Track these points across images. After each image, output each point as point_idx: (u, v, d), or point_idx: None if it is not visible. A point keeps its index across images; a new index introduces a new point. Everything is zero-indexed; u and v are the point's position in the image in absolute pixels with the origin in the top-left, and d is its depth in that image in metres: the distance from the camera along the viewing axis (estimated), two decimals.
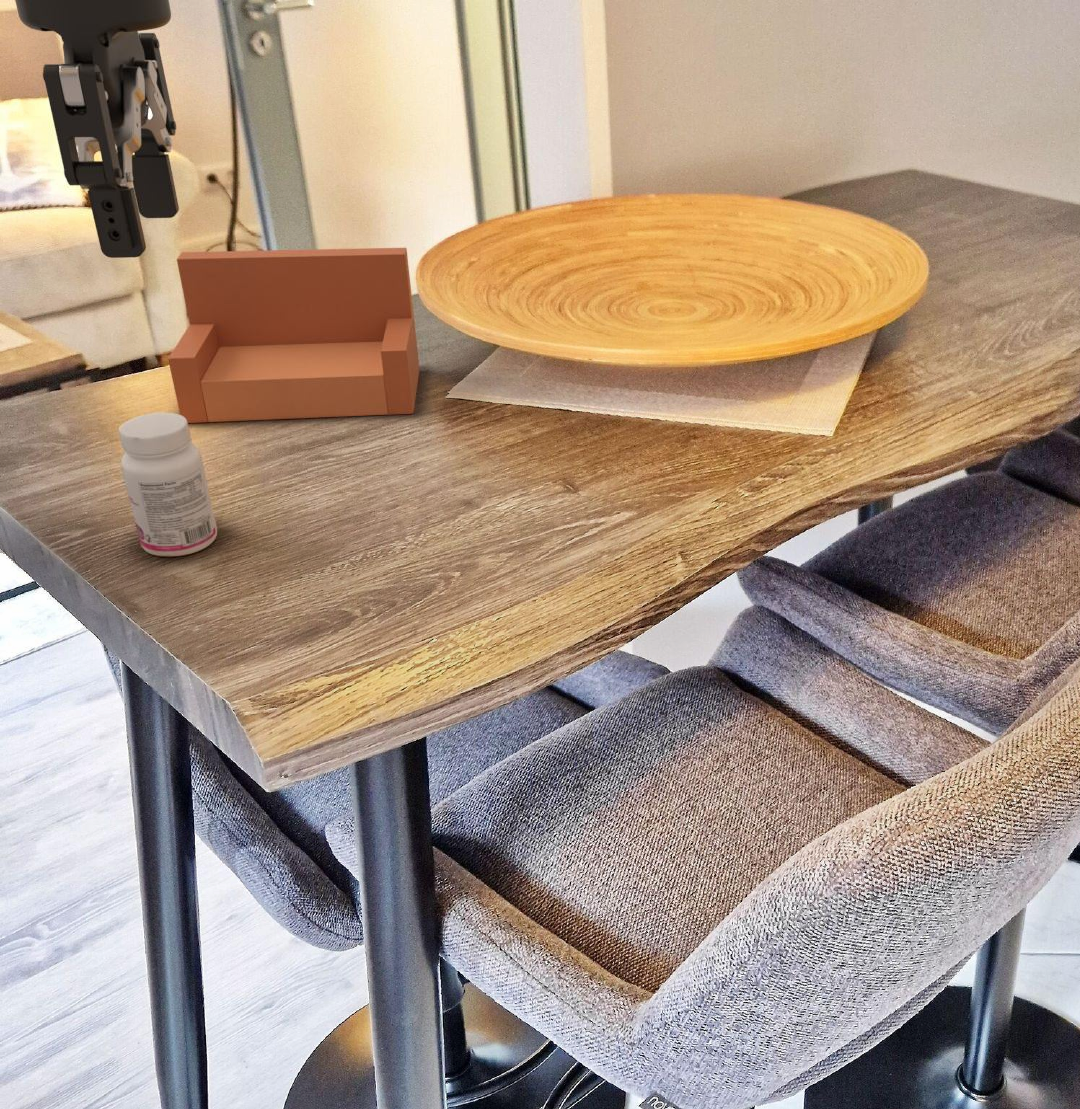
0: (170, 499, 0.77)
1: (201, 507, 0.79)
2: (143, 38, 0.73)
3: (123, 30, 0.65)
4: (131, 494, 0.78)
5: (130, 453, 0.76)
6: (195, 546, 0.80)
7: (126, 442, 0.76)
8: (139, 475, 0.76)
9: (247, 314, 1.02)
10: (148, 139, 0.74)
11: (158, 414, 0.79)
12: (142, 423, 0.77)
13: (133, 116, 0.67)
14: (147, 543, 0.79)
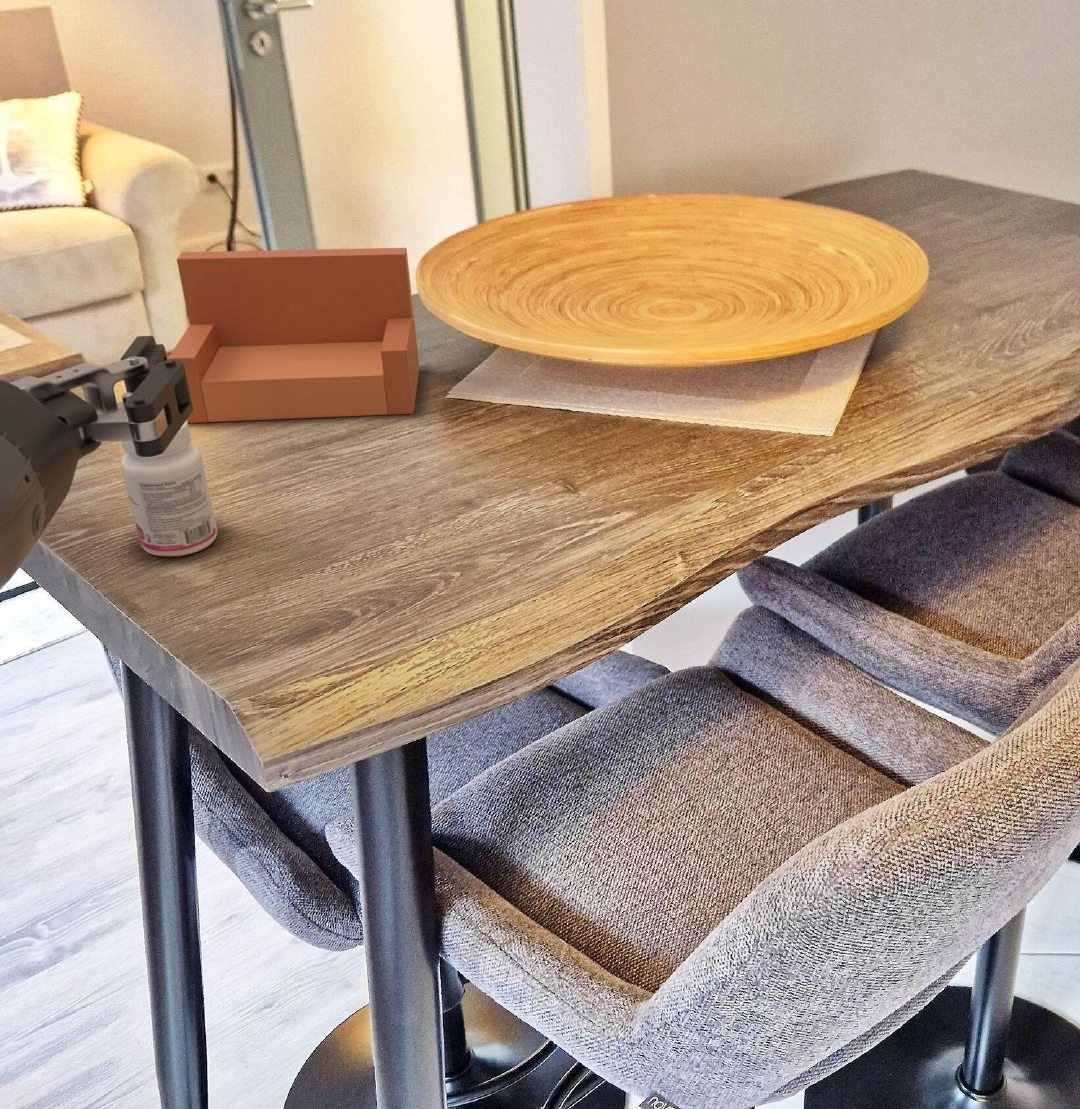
0: (170, 499, 0.77)
1: (201, 507, 0.79)
2: (135, 444, 0.55)
3: None
4: (131, 494, 0.78)
5: (130, 453, 0.76)
6: (195, 546, 0.80)
7: (126, 442, 0.76)
8: (139, 475, 0.76)
9: (247, 314, 1.02)
10: (127, 391, 0.59)
11: None
12: None
13: None
14: (147, 543, 0.79)
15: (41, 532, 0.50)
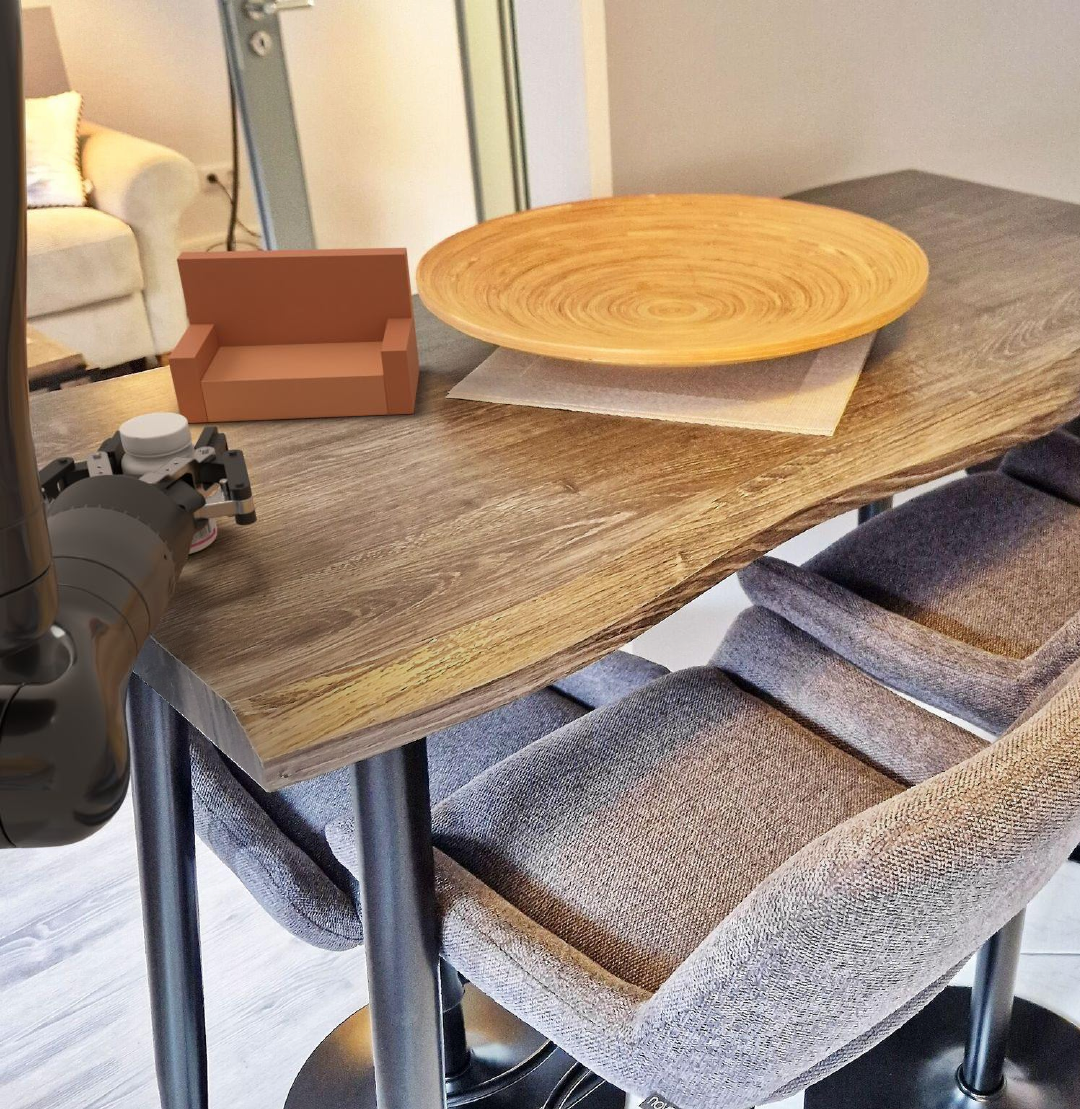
0: None
1: None
2: (237, 517, 0.73)
3: None
4: None
5: (130, 453, 0.76)
6: (195, 546, 0.80)
7: (126, 442, 0.76)
8: None
9: (247, 314, 1.02)
10: None
11: (158, 414, 0.79)
12: (143, 423, 0.77)
13: None
14: None
15: None
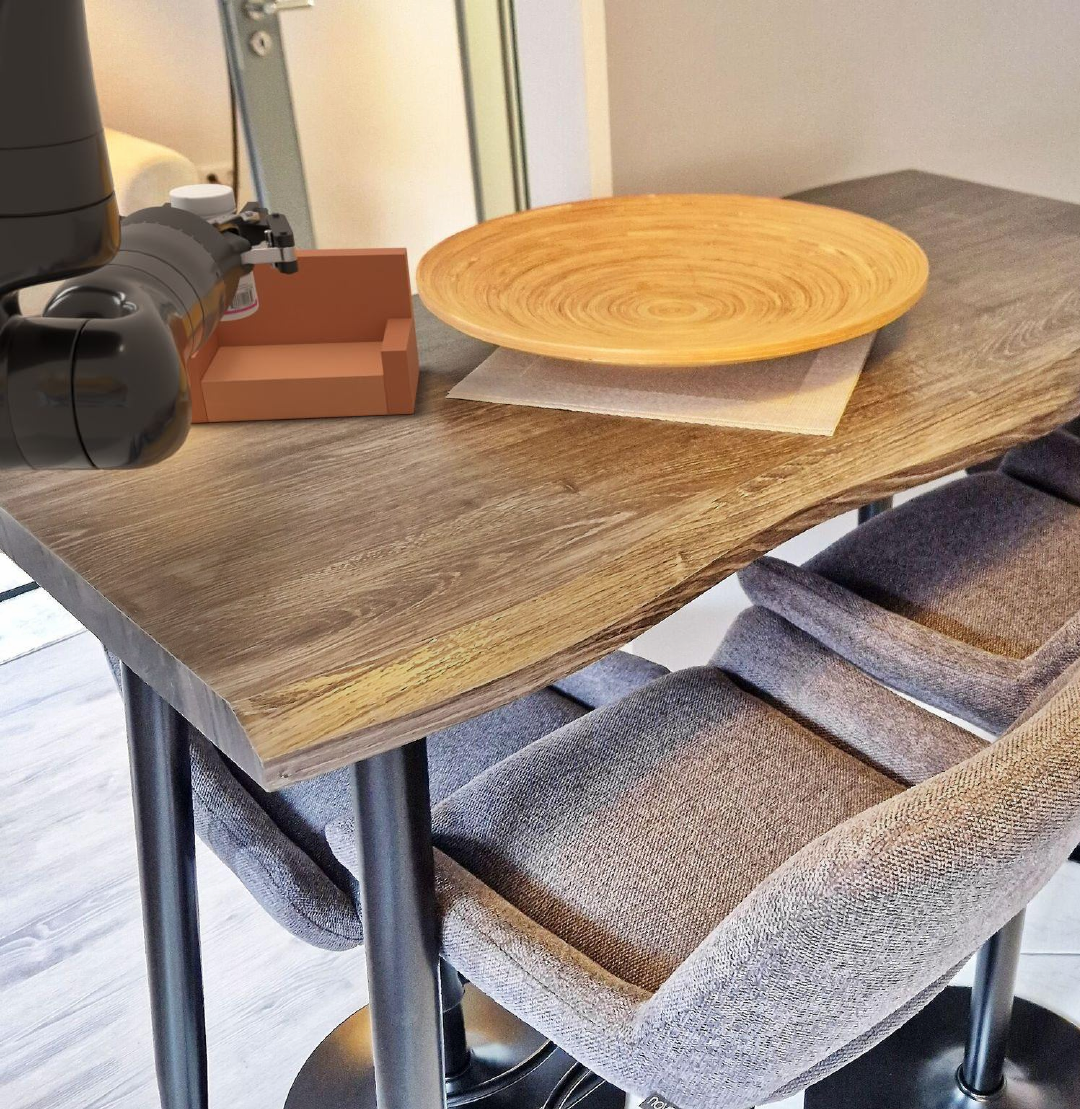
0: None
1: None
2: (281, 265, 0.78)
3: None
4: None
5: None
6: (238, 312, 0.84)
7: (176, 203, 0.81)
8: None
9: None
10: None
11: (205, 185, 0.83)
12: (191, 189, 0.82)
13: None
14: None
15: (221, 318, 0.73)
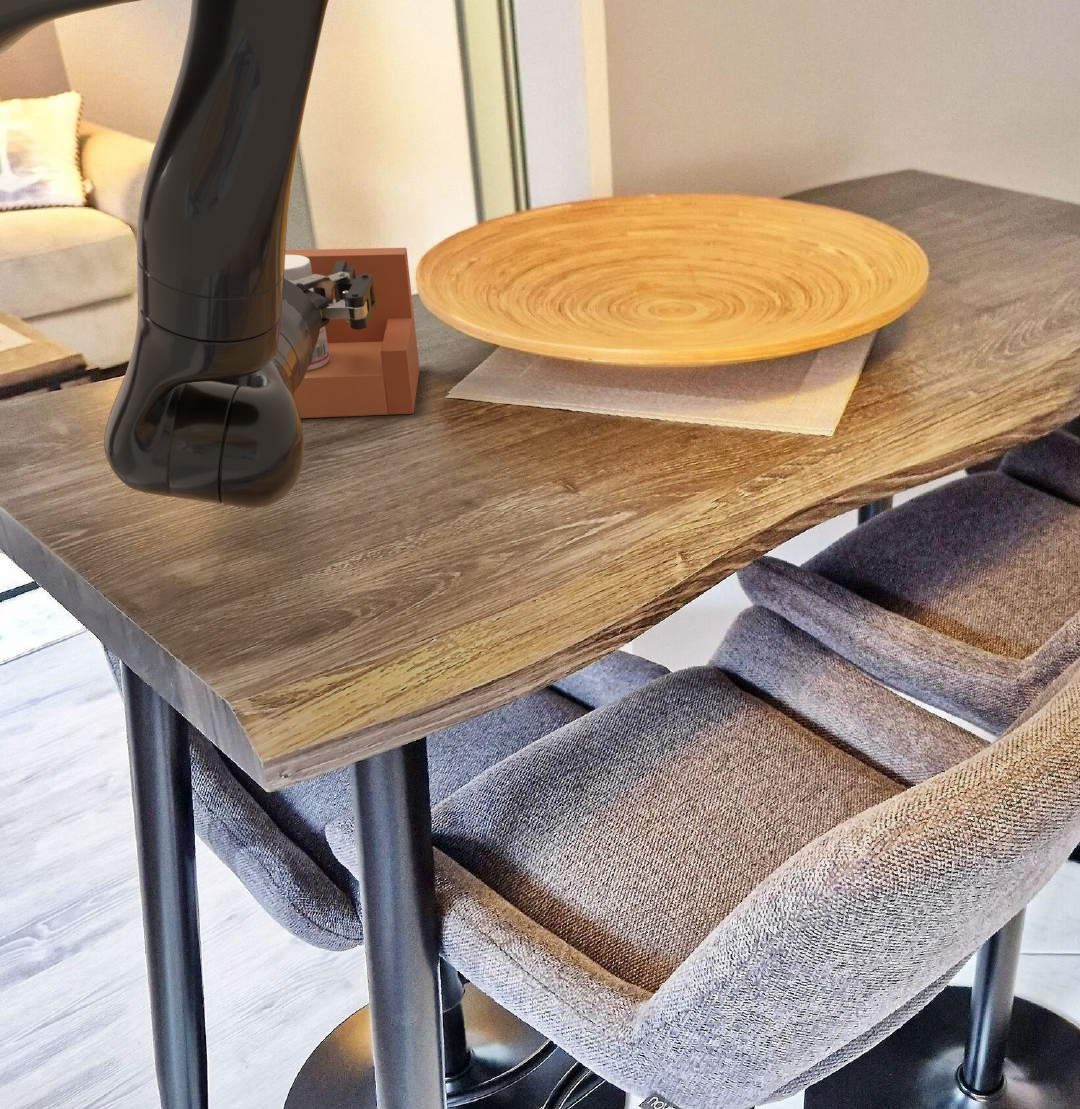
0: None
1: None
2: (351, 321, 0.91)
3: None
4: None
5: None
6: (314, 364, 0.99)
7: None
8: None
9: None
10: (336, 293, 0.96)
11: (286, 255, 0.98)
12: None
13: None
14: None
15: None
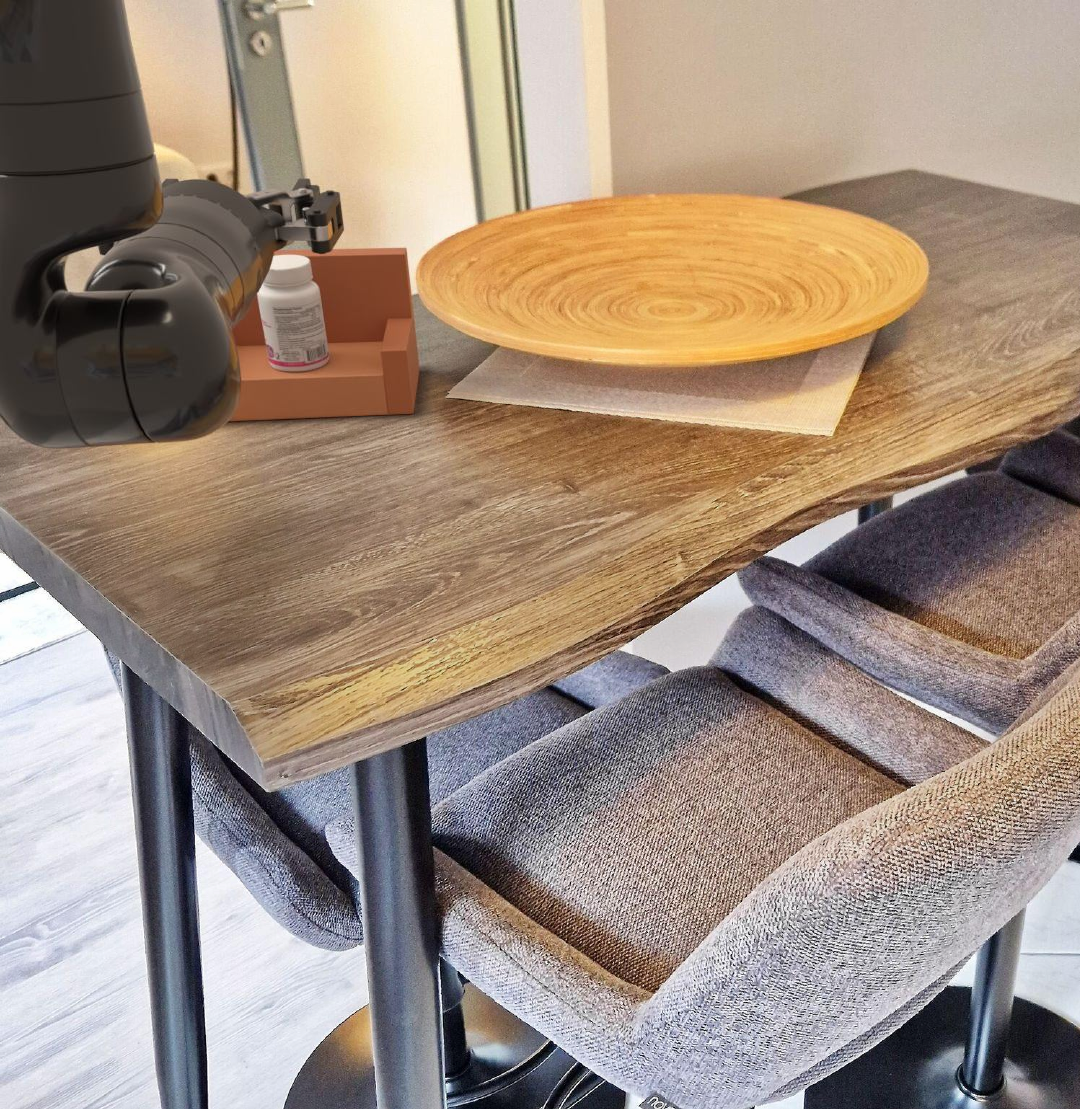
0: (297, 322, 0.97)
1: (319, 331, 0.98)
2: (312, 244, 0.77)
3: None
4: (265, 318, 0.97)
5: (266, 283, 0.95)
6: (314, 364, 0.99)
7: None
8: (273, 301, 0.95)
9: (247, 314, 1.02)
10: (297, 214, 0.81)
11: (286, 255, 0.98)
12: (275, 260, 0.96)
13: None
14: (276, 360, 0.98)
15: None
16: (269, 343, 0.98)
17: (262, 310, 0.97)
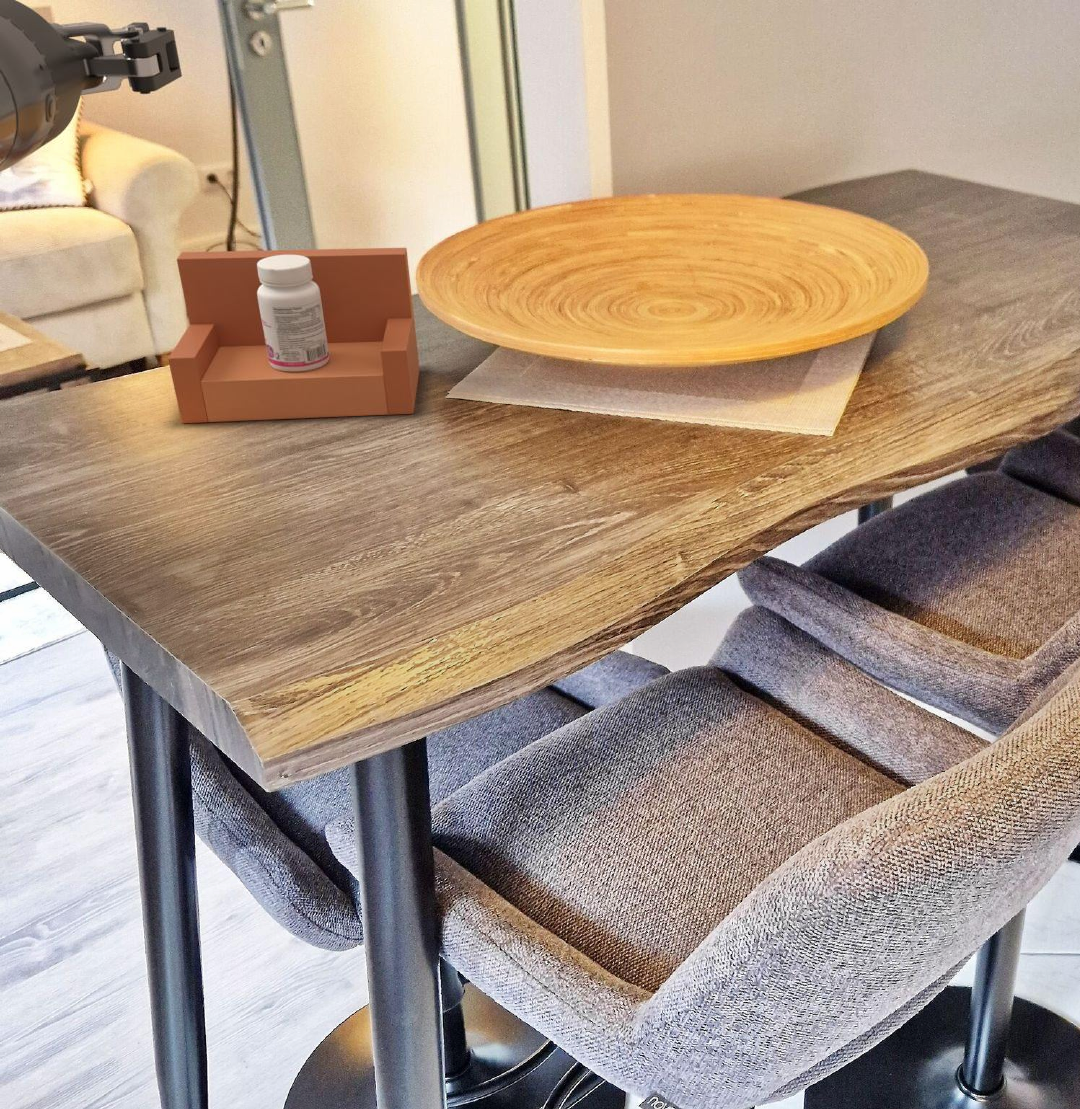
0: (297, 322, 0.97)
1: (319, 331, 0.98)
2: (132, 81, 0.65)
3: None
4: (265, 318, 0.97)
5: (266, 283, 0.95)
6: (314, 364, 0.99)
7: (263, 273, 0.95)
8: (273, 301, 0.95)
9: (247, 314, 1.02)
10: None
11: (286, 255, 0.98)
12: (275, 260, 0.96)
13: None
14: (276, 360, 0.98)
15: (52, 127, 0.60)
16: (269, 343, 0.98)
17: (262, 310, 0.97)
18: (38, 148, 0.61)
